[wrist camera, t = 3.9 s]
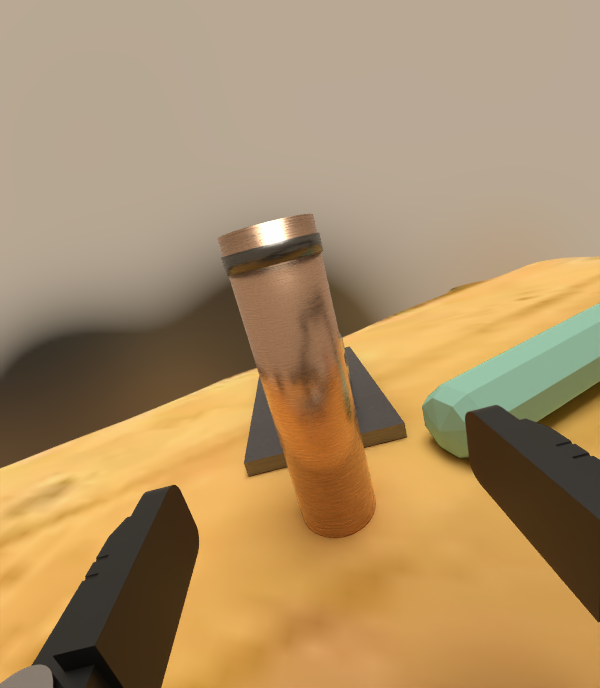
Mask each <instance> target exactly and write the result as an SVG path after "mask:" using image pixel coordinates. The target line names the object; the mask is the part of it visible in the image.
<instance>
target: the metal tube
mask: <svg viewBox="0 0 600 688" xmlns="http://www.w3.org/2000/svg"><path fill="white" fill-rule="evenodd" d="M218 243H219V246H220V249H221V252H222V255H223V257H222V258H221V259H222V263H223V266H224V270H225V273H226V275H227V276H229V278H230V281H231V285H232V288H233V291H234V294H235V298H236V301H237V304H238V307H239V311H240V313H241V317H242V320H243V323H244V327H245V330H246V333H247V336H248V339H249V343H250V346H251V349H252V353H253V356H254V359H255V362H256V365H257V369H258V372H259V375H260V379H261V382H262V385H263V388H264V392H265V395H266V398H267V401H268V404H269V408H270V411H271V414H272V417H273V421H274V424H275V427H276V430H277V434H278V437H279V440H280V443H281V447H282V450H283V453H284V456H285V460H286V463H287V466H288V469H289V472H290V476H291V479H292V482H293V485H294V489H295V492H296V495H297V498H298V502H299V505H300V508H301V511H302V515H303V518H304V521H305V522H306V524H307V525H308V527H309V528H310V529H311V530H312V531H314V532H315V533H317V534H319V535H322V536H326V537H334V538H335V537H344V536H348V535H351V534H353V533H355V532H357V531H359V530H360V529H362V528H363V527H364V526H365V525H366V524H367V523H368V522H369V521H370V519H371V518H372V516H373V514H374V511H375V497H374V492H373V487H372V483H371V478H370V474H369V469H368V465H367V460H366V455H365V451H364V446H363V442H362V437H361V432H360V428H359V423H358V419H357V414H356V409H355V405H354V400H353V396H352V391H351V386H350V382H349V377H348V373H347V368H346V364H345V359H344V354H343V350H342V345H341V341H340V336H339V331H338V327H337V323H336V318H335V313H334V308H333V304H332V300H331V295H330V290H329V285H328V281H327V276H326V272H325V267H324V263H323V258H322V254H321V252H322V251H323V247H322V243H321V238H320V234H319V233H317V231H316V226H315V221H314V217H313V214H304V215H297V216H292V217H287V218H282V219H278V220H273V221H269V222H265V223H261V224H258V225H254V226H250V227H247V228H244V229H241V230H237V231H234V232H231V233H228V234H226V235H223V236H221V237H219V238H218Z"/></svg>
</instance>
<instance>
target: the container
mask: <svg viewBox="0 0 600 688" xmlns="http://www.w3.org/2000/svg"><path fill="white" fill-rule="evenodd" d="M598 382H600V303H599V304H597V305H595V306H593V307H591V308H589V309H587V310H585V311H583V312H581V313H579V314H577V315H575V316H573V317H571V318H569V319H567V320H566V321H564V322H562V323H560V324H558V325H556V326H554V327H552V328H550V329H548V330H546V331H544V332H542V333H540V334H538V335H536V336H534V337H533V338H531V339H529V340H527V341H525V342H523V343H521V344H519V345H517V346H515V347H513V348H511V349H509V350H507V351H505V352H503V353H501V354H500V355H498V356H496V357H494V358H492V359H490V360H488V361H486V362H484V363H482V364H480V365H478V366H476V367H474V368H472V369H470V370H468V371H467V372H465V373H463V374H461V375H459V376H457V377H455V378H453V379H451V380H449V381H447V382H445V383H443V384H442V385H440V386H439V387H438V388H437V389H436V390H435V391H433V392H432V393H431V394H430V395H429V396H428V398H427V399H426V401H425V403H424V404H423V406H422V409H423V415H424V421H425V426H426V427H427V429H428V430H429V432H430V433H431V435H432V436H433V437H434V439H435V440H436V442H437V443H438V445H439V446H440V447H442V448H444V449H445V450H447V451H449V452H450V453H452V454H453V455H455V456H457V457H458V458H467V457H469V454H468V444H467V434H466V425H465V415H466V413H467V412H469V411H473V410H477V409H481V408H485V407H489V406H493V405H499V406H501V407H502V408H504V409H505V410H506V411H508V412H509V413H511V414H512V415H513V416H515V417H516V418H518V419H519V420H521V419H525V418H526V419H529V420H531V421H534V422H538V421H539V420H541V419H542V418H544V417H545V416H547V415H548V414H550V413H552V412H553V411H555V410H556V409H558V408H559V407H561V406H562V405H564V404H566V403H567V402H569V401H570V400H572V399H573V398H575V397H576V396H578V395H579V394H581V393H583V392H584V391H586V390H587V389H589V388H590V387H592V386H593V385H595V384H596V383H598Z"/></svg>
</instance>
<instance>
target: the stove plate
mask: <svg viewBox="0 0 600 688" xmlns="http://www.w3.org/2000/svg"><path fill="white" fill-rule="evenodd" d="M339 336H340V341H341V345H342V350H343V354H344V359H345V364H346V368H347V373H348V377H349V382H350V386H351V391H352V396H353V400H354V405H355V409H356V414H357V419H358V423H359V428H360V432H361V437H362V442H363V446H364V447H368V446H372V445H376V444H380V443H384V442H388V441H392V440H396V439H400V438H404V437H407V435H406V429H405V423H404V422H403V420H402V419H401V417H400V416H399V415H398V413H397V412H396V410H395V409H394V408H393V406H392V405H391V403H390V402H389V401H388V399H387V398H386V397H385V395H384V394H383V392H382V391H381V390H380V388H379V387H378V385H377V384H376V383H375V381H374V380H373V379H372V377H371V376H370V374H369V373H368V372H367V370H366V369H365V367H364V366H363V365H362V363H361V362H360V360H359V359H358V358H357V356H356V355H355V354H354V352H353V351H352V349H351V348H350V347H346V348H344V343H343V339H342V336H341V335H340V333H339ZM244 465H245V467H246V470H247V473H248V476H252V475H256V474H260V473H264V472H268V471H272V470H276V469H280V468H284V467H288V466H287V463H286V460H285V456H284V453H283V450H282V447H281V443H280V440H279V437H278V434H277V430H276V427H275V424H274V421H273V417H272V414H271V411H270V408H269V404H268V401H267V398H266V395H265V392H264V388H263V385H262V382H261V379H260V375H259V381H258V386H257V392H256V398H255V403H254V409H253V415H252V420H251V426H250V432H249V437H248V443H247V449H246V454H245V460H244Z"/></svg>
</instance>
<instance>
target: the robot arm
mask: <svg viewBox="0 0 600 688" xmlns="http://www.w3.org/2000/svg"><path fill="white" fill-rule="evenodd" d="M465 425H466V434H467V444H468V454H469V461H470V465H471V468H472V470H473V473H474V475H475V477H476V478H477V480H478V481H479V483H480V484H481V485H482V487H483V488H484V489H485V490H486V491H487V492H488V494H489V495H490V496H491V497H492V498H493V499H494V501H495V502H496V503H497V504H498V505H499V506H500V508H501V509H502V510H503V511H504V512H505V513H506V515H507V516H508V517H509V518H510V519H511V521H512V522H513V523H514V524H515V525H516V526H517V528H518V529H519V530H520V531H521V532H522V533H523V535H524V536H525V537H526V538H527V539H528V540H529V542H530V543H531V544H532V545H533V546H534V547H535V549H536V550H537V551H538V552H539V553H540V555H541V556H542V557H543V558H544V559H545V560H546V562H547V563H548V564H549V565H550V566H551V567H552V569H553V570H554V571H555V572H556V573H557V574H558V576H559V577H560V578H561V579H562V580H563V581H564V583H565V584H566V585H567V586H568V587H569V588H570V590H571V591H572V592H573V593H574V594H575V596H576V597H577V598H578V599H579V600H580V601H581V603H582V604H583V605H584V606H585V607H586V608H587V610H588V611H589V612H590V613H591V614H592V615H593V617H594V618H595V619H596V620H597V621H598V622H600V460H599V459H598V458H596V457H594V456H590V455H589V453H588V452H587V451H585V450H584V449H582V448H581V447H579V446H578V445H576V444H572V443H571V441H570V440H569V439H567V438H566V437H564V436H563V435H561V434H560V433H558V432H556V431H555V430H553V429H552V428H550V427H548V426H545V425H542V424H540V423H537V422H534V421H531V420H529V419H526V418H525V419H521V420H519V419H518V418H516V417H515V416H513V415H512V414H511V413H509V412H508V411H506V410H505V409H504V408H502V407H501V406H499V405H493V406H489V407H485V408H481V409H477V410H473V411H469V412H467V413H466V415H465ZM198 549H199V534H198V529H197V526H196V524H195V522H194V519H193V517H192V515H191V513H190V511H189V508H188V506H187V504H186V502H185V499H184V497H183V495H182V493H181V491H180V489H179V488H178V487H177V486H176V485H172V486H168V487H164V488H160V489H156V490H152V491H148V492H146V493H144V494H143V496H142V497H141V499H140V501H139V503H138V504H137V506H136V508H135V510H134V511H133V513H132V515H131V516H130V517H127V518H126V519H125V520H124V521H123V522H122V523H121V524H120V525H119V526H118V528H117V529H116V530H115V531H114V532H113V533H112V534H111V535H110V536H109V537H108V539H107V541H106V542H105V544H104V546H103V547H102V549H101V551H100V552H99V554H98V556H97V558H96V559H97V560H96V562H94V563H93V564H92V566H91V568H90V569H89V571H88V573H87V574H86V576H85V577H86V578H85V581H82V583H81V584H80V586H79V588H78V589H77V591H76V593H75V594H74V596H73V598H72V599H71V601H70V603H69V604H68V606H67V608H66V609H65V611H64V613H63V614H62V616H61V618H60V619H59V621H58V623H57V624H56V626H55V628H54V629H53V631H52V633H51V634H50V636H49V638H48V639H47V641H46V643H45V644H44V646H43V648H42V649H41V651H40V653H39V654H38V656H37V658H36V659H35V661H34V662H33V664H32V666H29V667H27V668H24V669H22V670H20V671H18V672H17V673H15V674H13V675H12V676H10V677H9V678H7V679H6V680H5V681H3V682H2V683H1V684H0V688H161V686H162V682H163V679H164V675H165V671H166V668H167V664H168V660H169V657H170V653H171V650H172V646H173V642H174V639H175V635H176V631H177V628H178V624H179V620H180V617H181V613H182V609H183V606H184V602H185V598H186V595H187V591H188V587H189V584H190V580H191V576H192V573H193V569H194V565H195V562H196V558H197V554H198Z"/></svg>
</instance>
